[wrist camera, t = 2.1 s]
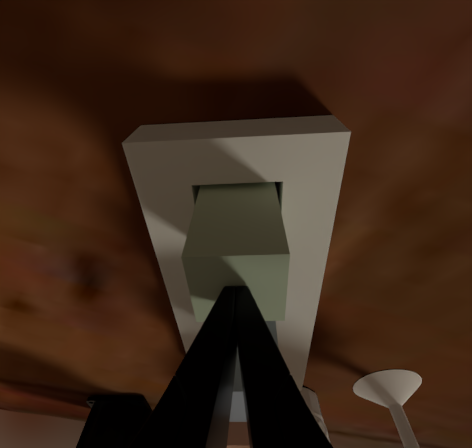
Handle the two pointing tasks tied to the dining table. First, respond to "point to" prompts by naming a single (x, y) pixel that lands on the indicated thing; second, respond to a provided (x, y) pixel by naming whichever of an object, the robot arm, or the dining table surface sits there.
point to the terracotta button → (238, 435)
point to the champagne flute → (392, 396)
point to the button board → (245, 171)
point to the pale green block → (237, 247)
